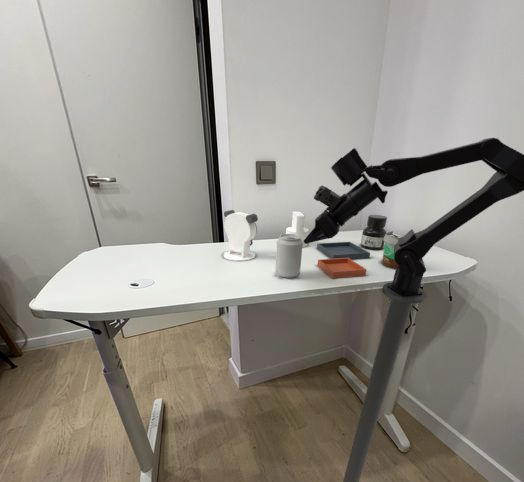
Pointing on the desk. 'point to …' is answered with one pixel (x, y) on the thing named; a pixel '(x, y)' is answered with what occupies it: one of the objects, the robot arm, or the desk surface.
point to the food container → (390, 250)
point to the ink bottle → (374, 232)
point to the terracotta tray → (341, 267)
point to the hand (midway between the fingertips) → (308, 238)
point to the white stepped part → (298, 226)
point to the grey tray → (342, 250)
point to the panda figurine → (240, 235)
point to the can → (288, 255)
